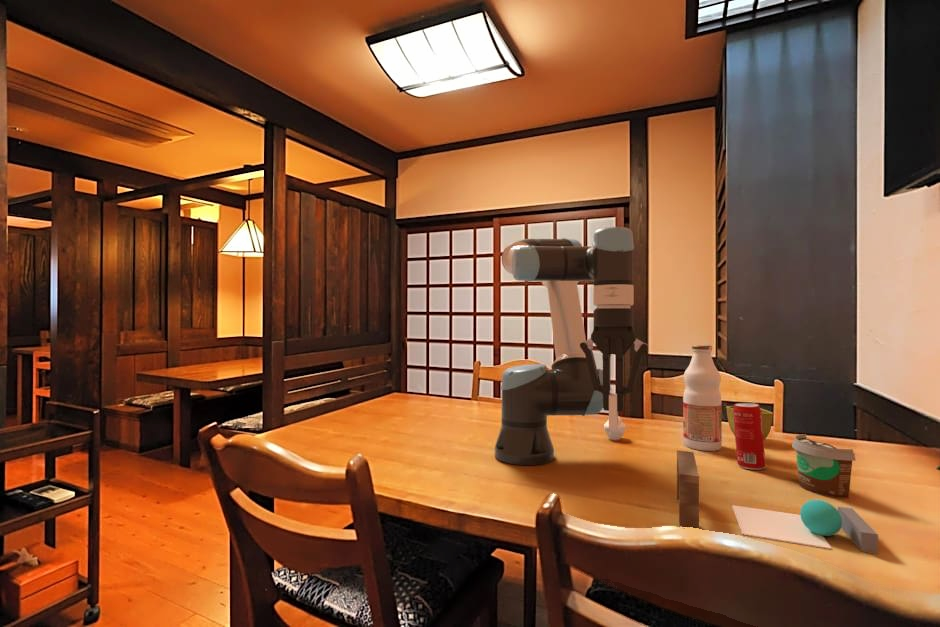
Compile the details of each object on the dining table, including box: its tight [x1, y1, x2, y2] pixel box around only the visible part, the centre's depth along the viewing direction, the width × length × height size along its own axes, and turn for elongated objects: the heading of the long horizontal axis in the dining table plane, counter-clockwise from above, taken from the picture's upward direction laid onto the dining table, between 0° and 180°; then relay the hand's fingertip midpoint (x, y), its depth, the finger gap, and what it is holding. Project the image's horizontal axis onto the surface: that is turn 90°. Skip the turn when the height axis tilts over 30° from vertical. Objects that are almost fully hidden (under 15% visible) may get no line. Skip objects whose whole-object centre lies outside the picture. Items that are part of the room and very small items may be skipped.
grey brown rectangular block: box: [676, 449, 700, 529], centre depth 84 cm, size 3×14×9 cm, turn 157°
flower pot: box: [725, 405, 774, 441], centre depth 130 cm, size 9×9×9 cm
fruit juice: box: [682, 344, 723, 452], centre depth 125 cm, size 9×9×28 cm
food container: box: [791, 433, 856, 499], centre depth 94 cm, size 12×6×10 cm, turn 5°
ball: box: [799, 499, 842, 537], centre depth 75 cm, size 6×6×6 cm
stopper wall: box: [837, 506, 879, 555], centre depth 74 cm, size 2×10×3 cm, turn 157°
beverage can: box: [733, 402, 767, 471], centre depth 108 cm, size 6×6×15 cm
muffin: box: [603, 415, 626, 441], centre depth 133 cm, size 6×6×7 cm
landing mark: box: [731, 504, 833, 550], centre depth 78 cm, size 12×12×1 cm
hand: (613, 427), depth 89 cm, fingers closed
